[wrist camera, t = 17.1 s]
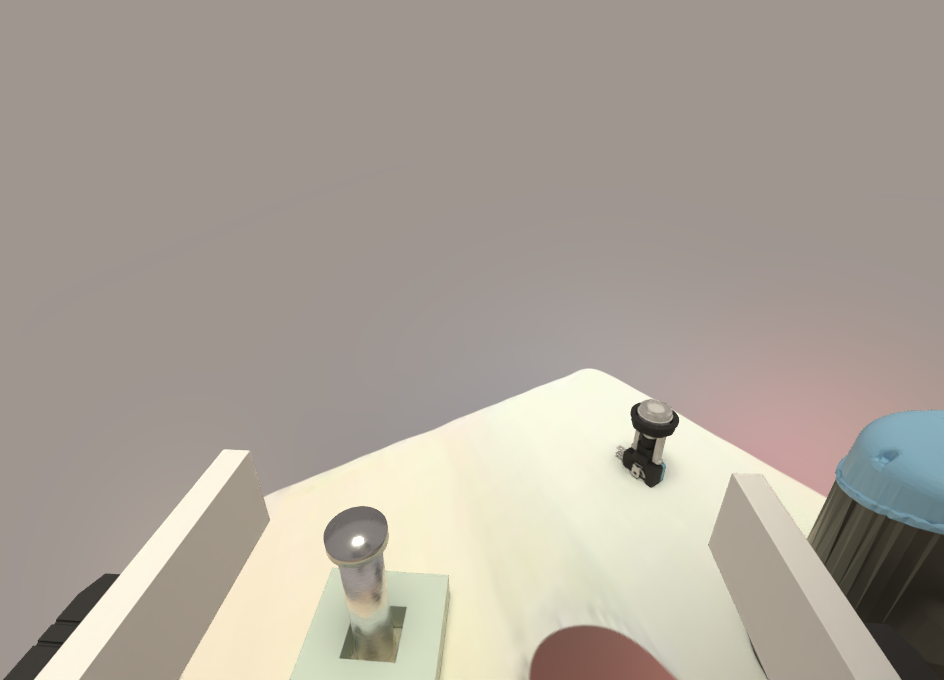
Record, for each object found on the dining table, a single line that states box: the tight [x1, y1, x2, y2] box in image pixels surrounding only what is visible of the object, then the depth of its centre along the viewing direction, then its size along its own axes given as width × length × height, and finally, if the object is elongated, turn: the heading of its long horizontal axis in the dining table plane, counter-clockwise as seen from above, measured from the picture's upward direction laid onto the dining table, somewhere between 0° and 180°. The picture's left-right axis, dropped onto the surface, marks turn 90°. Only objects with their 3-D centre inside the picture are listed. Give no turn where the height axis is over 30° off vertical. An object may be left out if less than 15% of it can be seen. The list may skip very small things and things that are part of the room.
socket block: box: [290, 568, 450, 680], centre depth 39 cm, size 11×11×3 cm
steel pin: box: [324, 506, 396, 663], centre depth 36 cm, size 4×4×15 cm
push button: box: [616, 399, 679, 487], centre depth 57 cm, size 7×5×10 cm
